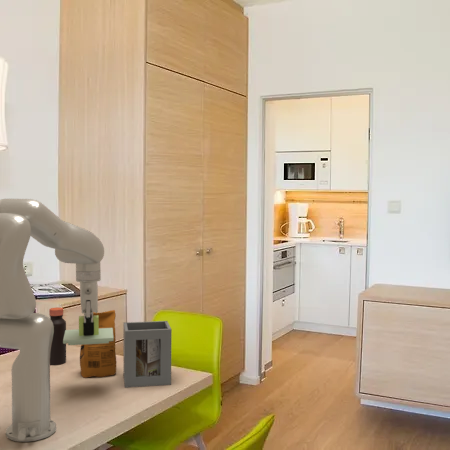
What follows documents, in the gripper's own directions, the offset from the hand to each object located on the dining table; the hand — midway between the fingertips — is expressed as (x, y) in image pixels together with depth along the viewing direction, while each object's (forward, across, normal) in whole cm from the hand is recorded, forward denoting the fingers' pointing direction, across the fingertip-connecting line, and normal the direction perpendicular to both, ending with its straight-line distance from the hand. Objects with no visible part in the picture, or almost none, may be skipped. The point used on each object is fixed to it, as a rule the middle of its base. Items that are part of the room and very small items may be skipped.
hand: (88, 332), depth 178 cm
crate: (+19, +6, -19) cm, 27 cm away
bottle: (+19, +31, +12) cm, 39 cm away
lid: (+2, 0, 0) cm, 2 cm away
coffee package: (+19, +16, -3) cm, 25 cm away
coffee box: (+19, +6, -19) cm, 27 cm away
